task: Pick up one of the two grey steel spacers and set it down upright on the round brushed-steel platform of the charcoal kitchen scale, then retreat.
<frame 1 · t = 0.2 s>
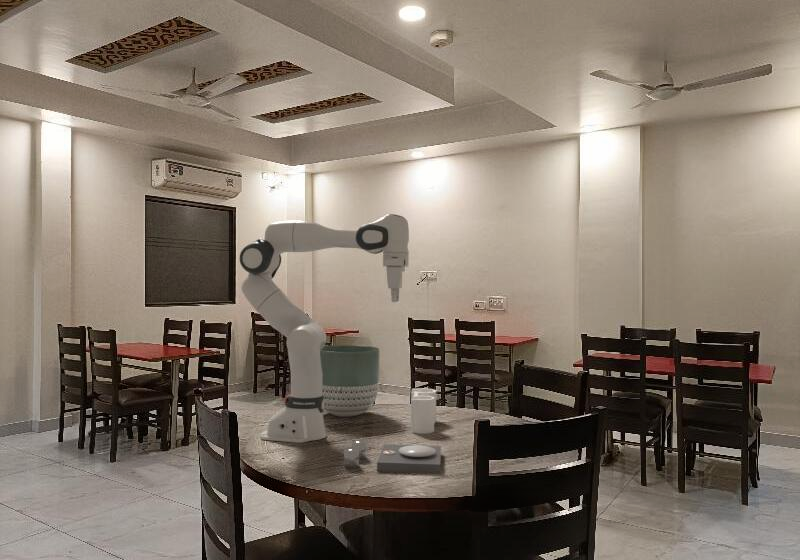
hand: (395, 301, 215), 47 cm above the table, fingers open, 8 cm apart
spacer a: (359, 457, 192), on the table
planter: (345, 415, 254), on the table
c-shaped pipe clip: (423, 426, 237), on the table
scale: (410, 462, 188), on the table
spacer b: (351, 466, 183), on the table
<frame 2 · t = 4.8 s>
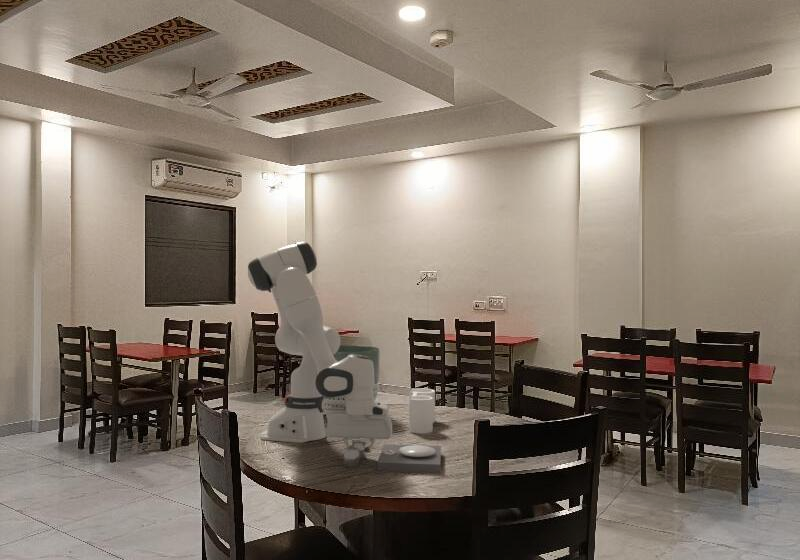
hand: (359, 452, 192), 2 cm above the table, fingers closed on spacer a, 4 cm apart
spacer a: (359, 457, 192), on the table, touching gripper
everything else where it was.
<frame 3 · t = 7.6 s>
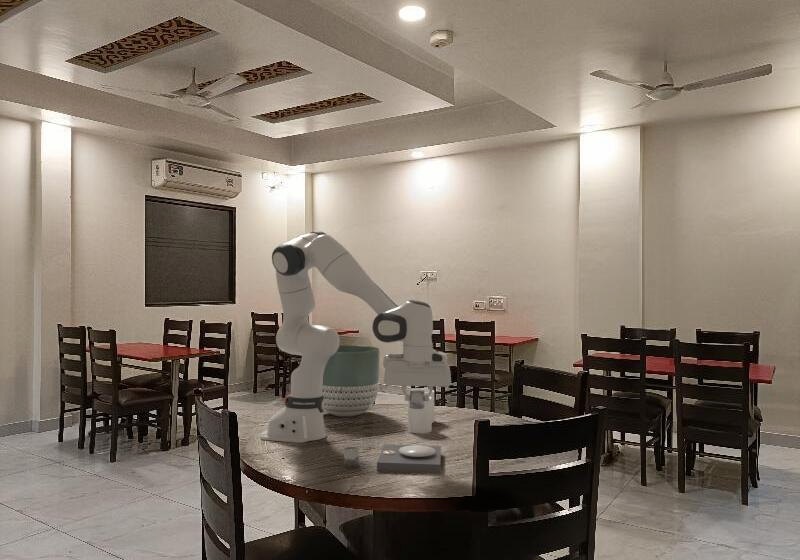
hand: (417, 400, 188), 19 cm above the table, fingers closed on spacer a, 4 cm apart
spacer a: (417, 407, 188), point 17 cm above the table, touching gripper
everything else where it was.
when the fingers open (6 cm above the table, at t = 10.5 s): spacer a stays where it is, resting on scale.
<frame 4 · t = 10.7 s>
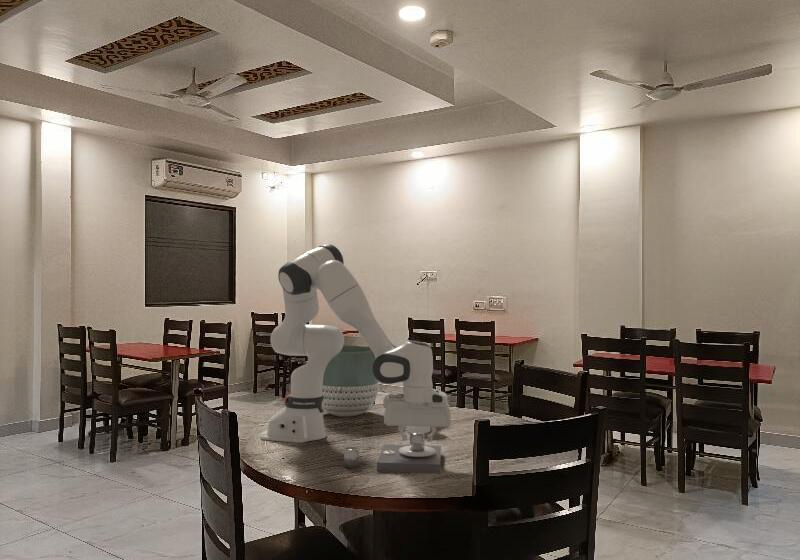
hand: (417, 440, 188), 6 cm above the table, fingers open, 6 cm apart
spacer a: (417, 450, 188), point 4 cm above the table, touching scale
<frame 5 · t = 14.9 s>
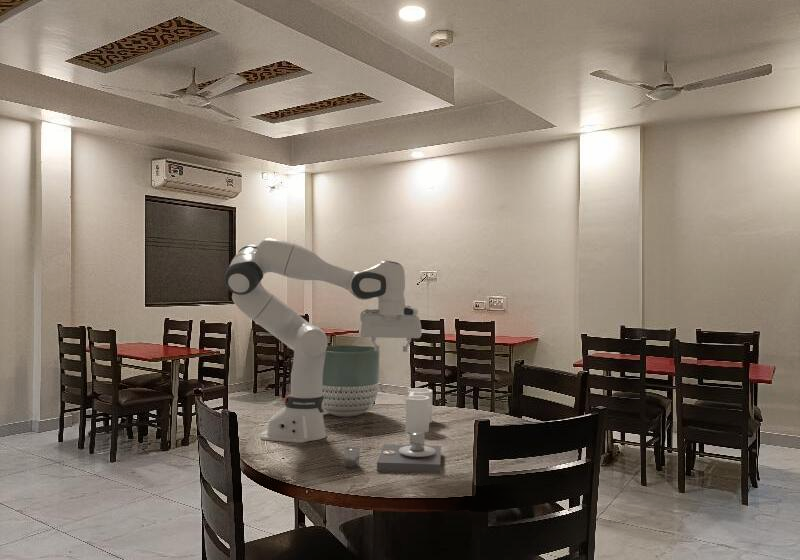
hand: (391, 351, 207), 31 cm above the table, fingers open, 8 cm apart
at the end: spacer a inside the target area on the scale (0.1 cm from its centre), point 3.7 cm above the scale's base; spacer a tilted 0°; the gripper is holding nothing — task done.
